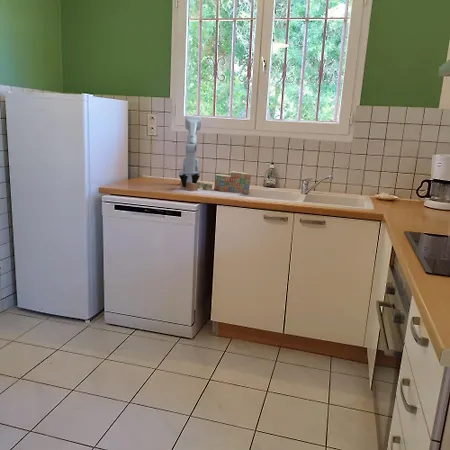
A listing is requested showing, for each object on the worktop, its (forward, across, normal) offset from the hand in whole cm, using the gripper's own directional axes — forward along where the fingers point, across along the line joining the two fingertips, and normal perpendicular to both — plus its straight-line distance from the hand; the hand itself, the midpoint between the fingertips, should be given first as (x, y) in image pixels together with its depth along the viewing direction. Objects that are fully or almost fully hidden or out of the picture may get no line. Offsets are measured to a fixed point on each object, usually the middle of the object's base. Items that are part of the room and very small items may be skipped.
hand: (188, 187), depth 258 cm
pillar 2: (+1, +12, -4) cm, 13 cm away
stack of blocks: (+2, +23, -14) cm, 27 cm away
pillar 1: (+1, +12, +4) cm, 13 cm away
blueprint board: (+2, +8, 0) cm, 8 cm away
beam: (+1, 0, 0) cm, 1 cm away
